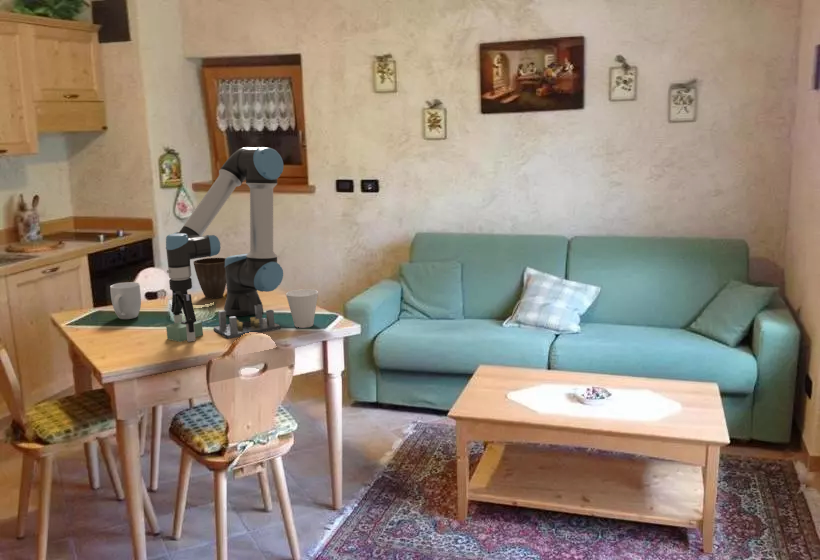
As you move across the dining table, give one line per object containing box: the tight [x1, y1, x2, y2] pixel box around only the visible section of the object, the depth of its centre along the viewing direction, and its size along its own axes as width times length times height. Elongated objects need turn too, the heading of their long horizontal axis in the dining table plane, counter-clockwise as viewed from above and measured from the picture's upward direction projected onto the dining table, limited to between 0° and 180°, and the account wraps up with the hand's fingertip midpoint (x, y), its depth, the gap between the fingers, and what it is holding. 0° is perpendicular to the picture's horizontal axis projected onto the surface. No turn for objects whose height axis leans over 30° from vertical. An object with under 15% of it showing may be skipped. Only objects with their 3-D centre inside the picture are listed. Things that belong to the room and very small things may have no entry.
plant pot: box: [193, 257, 227, 299], centre depth 333 cm, size 15×15×16 cm
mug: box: [109, 281, 142, 320], centre depth 300 cm, size 15×11×13 cm
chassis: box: [213, 304, 281, 339], centre depth 280 cm, size 20×14×7 cm
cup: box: [285, 288, 319, 329], centre depth 283 cm, size 12×12×12 cm
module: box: [165, 319, 204, 343], centre depth 273 cm, size 10×7×6 cm
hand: (185, 336), depth 273 cm, fingers open, 13 cm apart
